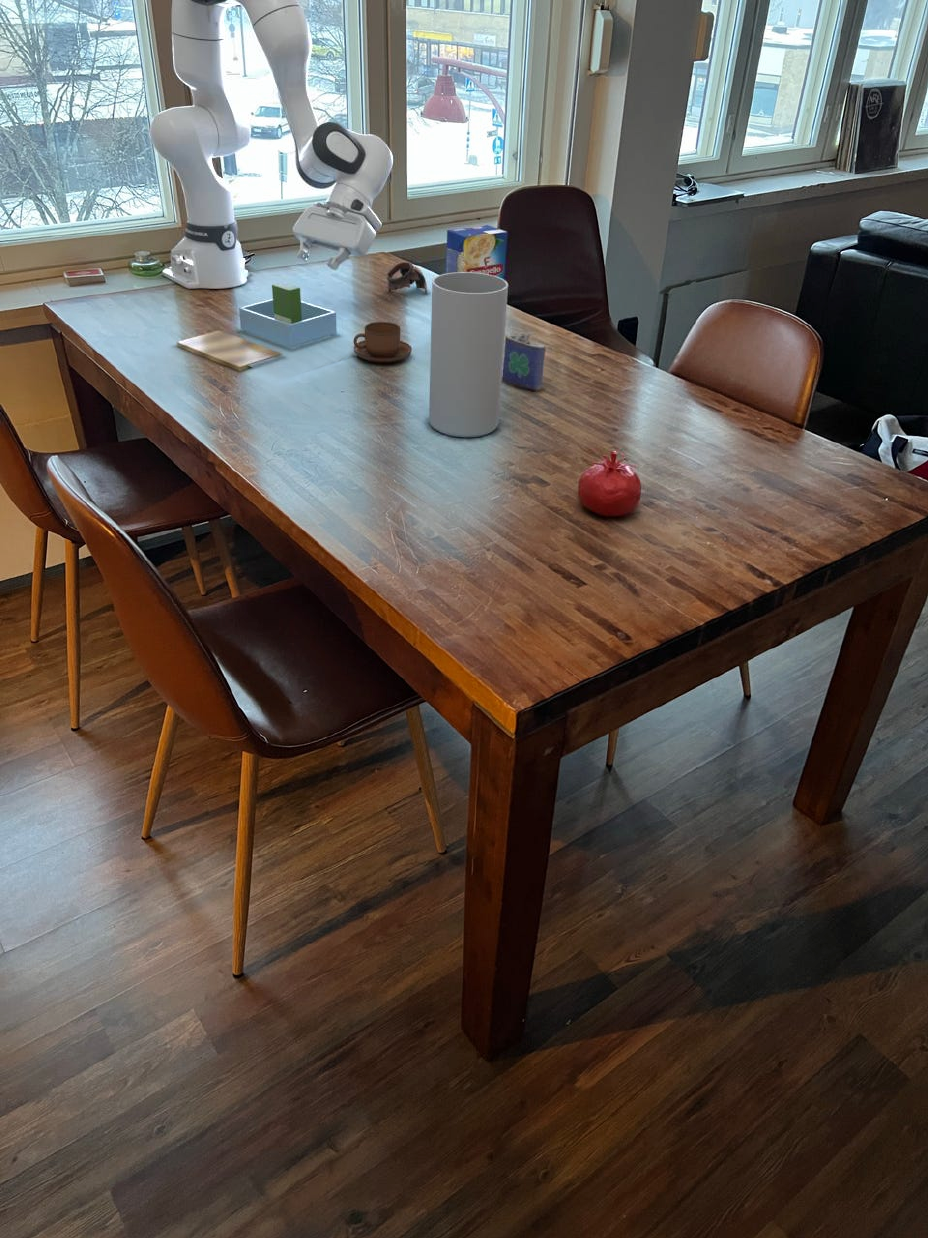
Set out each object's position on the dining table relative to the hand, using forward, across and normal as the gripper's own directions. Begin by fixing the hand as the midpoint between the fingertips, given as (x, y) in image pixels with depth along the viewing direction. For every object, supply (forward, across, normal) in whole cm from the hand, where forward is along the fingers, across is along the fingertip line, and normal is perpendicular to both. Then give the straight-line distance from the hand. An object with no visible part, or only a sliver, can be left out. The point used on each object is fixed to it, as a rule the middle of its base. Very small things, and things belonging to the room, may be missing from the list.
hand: (315, 263), depth 201 cm
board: (+27, 0, -8) cm, 29 cm away
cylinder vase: (+24, +58, -4) cm, 63 cm away
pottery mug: (-15, -4, +34) cm, 37 cm away
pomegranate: (+30, +94, -10) cm, 99 cm away
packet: (+15, 0, +3) cm, 15 cm away
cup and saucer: (+13, +24, +6) cm, 28 cm away
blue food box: (-5, +28, +24) cm, 37 cm away
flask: (+7, +54, +12) cm, 56 cm away
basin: (+16, 0, +3) cm, 16 cm away
